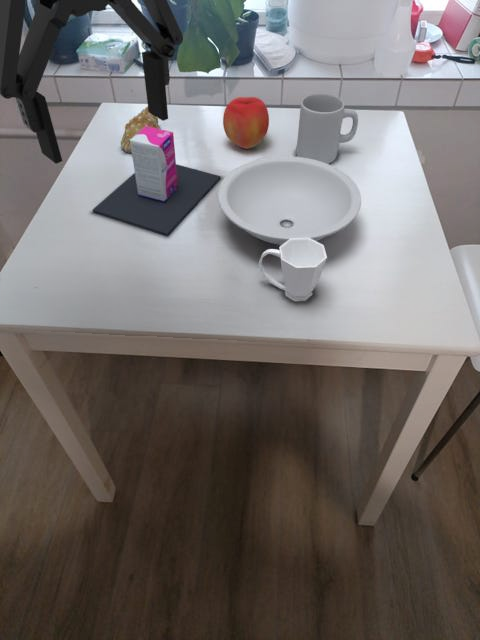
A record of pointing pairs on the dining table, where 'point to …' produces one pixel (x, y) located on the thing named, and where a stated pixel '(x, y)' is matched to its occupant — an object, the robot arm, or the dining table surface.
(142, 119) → the seashell
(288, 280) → the cup
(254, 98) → the apple
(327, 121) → the mug
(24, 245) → the dining table surface
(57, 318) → the dining table surface
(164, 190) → the supplement box
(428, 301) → the dining table surface
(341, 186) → the white sink basin
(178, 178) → the mat
